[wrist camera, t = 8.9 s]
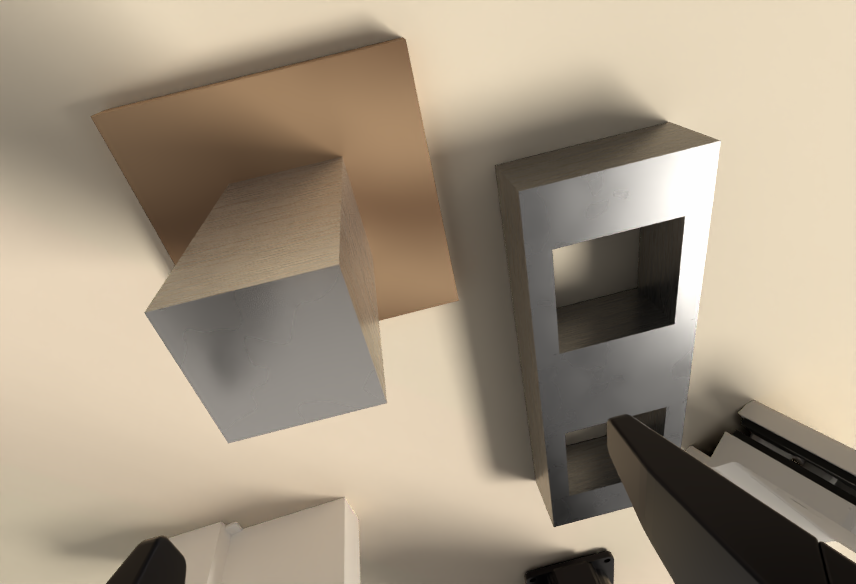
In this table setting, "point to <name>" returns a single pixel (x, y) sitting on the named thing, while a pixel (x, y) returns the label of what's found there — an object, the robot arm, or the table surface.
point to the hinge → (791, 472)
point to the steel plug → (277, 304)
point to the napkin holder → (277, 549)
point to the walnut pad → (298, 157)
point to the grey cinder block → (606, 299)
